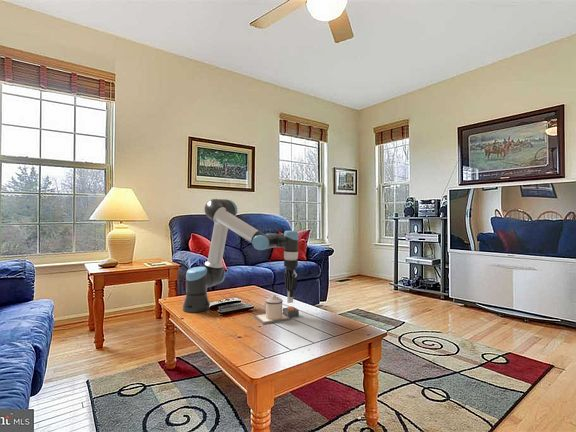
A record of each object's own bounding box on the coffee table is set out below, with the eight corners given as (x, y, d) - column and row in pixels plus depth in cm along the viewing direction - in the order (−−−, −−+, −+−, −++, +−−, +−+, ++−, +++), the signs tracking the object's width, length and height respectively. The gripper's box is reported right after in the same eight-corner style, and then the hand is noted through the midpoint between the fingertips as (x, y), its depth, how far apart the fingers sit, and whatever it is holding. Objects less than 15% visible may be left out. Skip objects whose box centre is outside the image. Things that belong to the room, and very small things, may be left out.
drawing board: (254, 316, 172) (254, 315, 172) (280, 312, 179) (280, 311, 179) (263, 324, 160) (263, 322, 160) (290, 319, 167) (290, 318, 167)
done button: (286, 312, 175) (286, 306, 175) (292, 311, 177) (292, 306, 177) (289, 314, 172) (289, 308, 172) (295, 313, 174) (295, 307, 174)
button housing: (282, 314, 176) (282, 308, 176) (293, 313, 179) (293, 306, 179) (288, 318, 170) (288, 311, 170) (298, 316, 173) (298, 309, 173)
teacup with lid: (286, 317, 168) (286, 295, 168) (272, 321, 162) (272, 298, 162) (271, 312, 177) (271, 291, 177) (258, 315, 171) (258, 294, 171)
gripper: (302, 260, 170) (302, 304, 171) (291, 257, 182) (290, 298, 182) (290, 261, 167) (289, 306, 167) (279, 257, 178) (278, 300, 179)
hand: (290, 302), depth 175 cm, fingers closed
